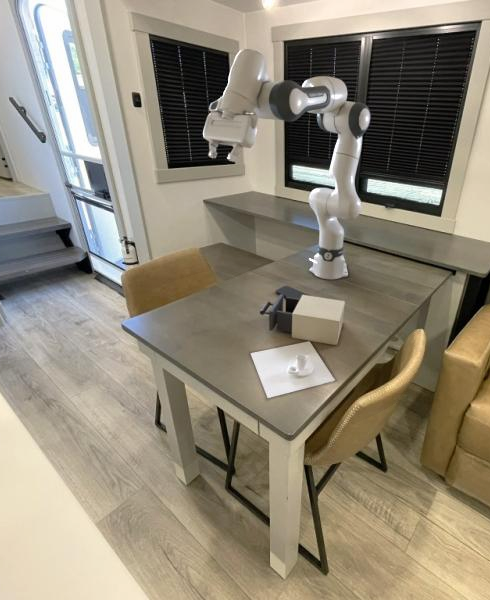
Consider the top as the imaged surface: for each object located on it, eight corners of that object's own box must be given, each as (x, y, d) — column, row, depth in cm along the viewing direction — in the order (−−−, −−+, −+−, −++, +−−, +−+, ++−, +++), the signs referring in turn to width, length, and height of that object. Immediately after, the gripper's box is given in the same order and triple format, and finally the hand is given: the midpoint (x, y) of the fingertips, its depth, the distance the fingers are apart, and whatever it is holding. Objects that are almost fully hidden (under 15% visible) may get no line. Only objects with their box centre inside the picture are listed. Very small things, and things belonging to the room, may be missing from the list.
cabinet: (291, 337, 112) (292, 313, 107) (301, 317, 124) (302, 294, 119) (336, 345, 110) (339, 321, 105) (342, 323, 121) (345, 301, 117)
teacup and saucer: (290, 380, 94) (290, 369, 92) (281, 363, 100) (281, 352, 98) (318, 373, 97) (319, 362, 95) (308, 357, 103) (309, 346, 101)
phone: (302, 303, 131) (274, 290, 138) (302, 305, 131) (274, 292, 139) (313, 296, 136) (286, 285, 144) (313, 298, 137) (286, 286, 144)
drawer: (257, 328, 114) (256, 309, 110) (269, 310, 124) (268, 292, 121) (310, 337, 111) (311, 318, 107) (317, 318, 122) (319, 300, 118)
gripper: (268, 118, 90) (252, 168, 91) (224, 116, 101) (210, 160, 103) (251, 104, 85) (234, 157, 86) (206, 104, 96) (192, 150, 98)
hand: (221, 159), depth 95 cm, fingers open, 8 cm apart
